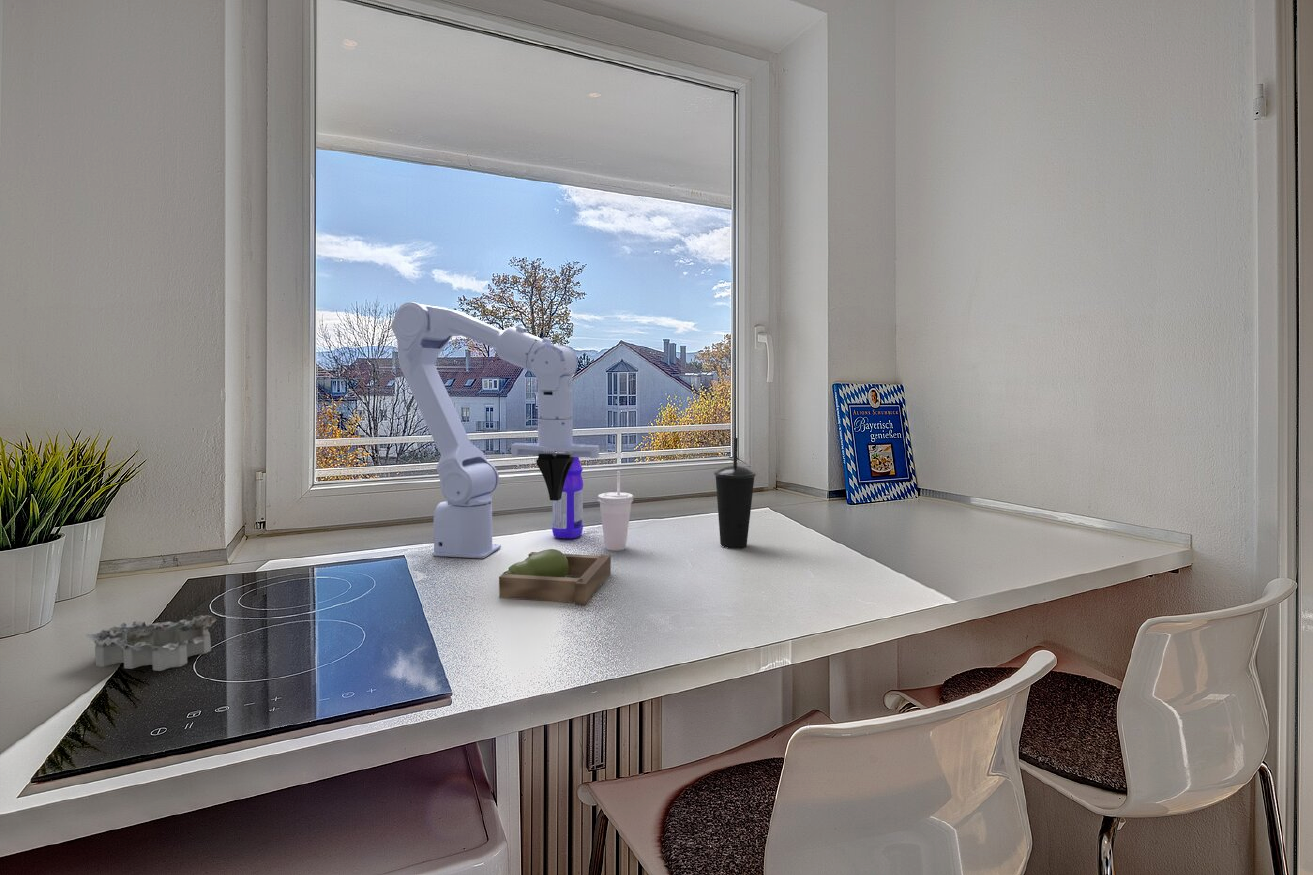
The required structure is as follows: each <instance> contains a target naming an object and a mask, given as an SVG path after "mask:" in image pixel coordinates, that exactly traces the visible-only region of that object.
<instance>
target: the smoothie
mask: <svg viewBox="0 0 1313 875" xmlns="http://www.w3.org/2000/svg"><path fill="white" fill-rule="evenodd" d="M597 497H598V499H597V502H599V507H600V509H599V510H600V517H601V526H602V532H603V541H604V548H605V550H607V551H615V552H616V551H617V552H618V551H624V550H626V548H627V547H626V545H627V541H628V540H627V539H628V531H629V523H630V515H631V511H632V510H631V508H632V503H633V502H634V494H632V493H630V492H629V493H628V492H621V471H620V470H617V472H616V491H614V492H602V493H599V494H598V496H597Z"/></svg>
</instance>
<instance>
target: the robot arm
mask: <svg viewBox="0 0 1313 875" xmlns="http://www.w3.org/2000/svg"><path fill="white" fill-rule="evenodd" d="M390 328H391V330H392V332H393V334H394V336H395V339H396V344H397V346H396V347H397V356H398V358H397V359H398V365H399V368H400V371H401V372H402V375H403V377H404V380H405V381H406V383H407V385H408V387H409V389H410V391H411V395H413V396H412V397H413V398H414V400H415V402H416V405H417V406H418V409H419V411H420V413H421V415H422V419H424V421H425V422H424V423H425V424H426V426H427V428H428V430H429V433H430V435H431V437H432V439H433V442H434V444H435V446H436V447H437V450H438V452H439V454H440V458H439V460H438V462H437V465H436V467H435V468H436V472H437V473H438V474H437V475H438V477H439V488H440V492H441V494H442V496H443V497H444V499H446V500H445V501H441V502H439V503H438V504H437V506H436V508H435V509H434V513H433V514H434V515H433V522H432V523H433V552H431V555H432V556H433V557H434V556H435V557H453V558H467V559H468V558H470V559H471V558H472V559H485V558H486V557H488V556H489V555H491V554H492V553H494V552H496V551H497V550H498V549H500V548H501V547H502V545H501V544H499V543H498V544H497V543H493V493H494V492H495V491H496V490H497V489H498V486H499V484H500V476H499V472H498V469H497V468H496V466H494V465H493V464H492V463H491V462H490V461H489V460H488V459H487V458H486V456H485V453H484V452H483V451H482V450H481V449H479V448H478V447H477V446H475V445H474V444H473V443H472V442H471V440H470V438H469V436H468V434H467V431H466V430H465V427H464V424H463V423H462V421H461V419H460V417H459V414H458V412H457V410H456V407H455V405H454V404H453V401H452V399H451V396H450V394H449V392H448V390H447V388H446V386H445V384H444V382H443V380H442V377H441V375H440V373H439V371H438V369H437V367H436V365H435V363H436V361H437V358H438V357H439V355H440V354H441V353H442V351H443V350H444V348H445V347H446V346H447V345H448V343H450V341H451V340H452V338H453V337H460V336H462V337H464V338H467V339H470V340H472V341H475V342H477V343H479V344H483V345H486V346H488V347H491V348H494V350H495V352H496V355H497V356H498V358H499V359H500V360H502V361H506V362H508V363H509V364H512V365H515V366H517V367H519V368H522V369H524V370H526V371H527V372H528V371H529V372H531V373H533V375H534V377H535V378H536V380H537V442H534V443H533V442H528V443H527V442H525V443H524V442H521V443H520V442H515V443H512V444H511V456H513V457H515V456H516V457H517V456H529V457H530V456H534V457H538V458H537V459H536V461H535V462H536V466H537V467H538V469H539V471H540V473H541V475H542V477H543V480H544V482H545V485H546V488H547V492H548V498H549V501H552V502H553V501H558V500H560V499H561V496H562V490H563V486H564V483H565V479H566V477H567V474H568V472H569V469H570V467H571V465H572V463H573V461H574V458H573V457H579V458H590V459H598V458H599V457H600V445H596V444H595V445H594V444H582V443H574V440H573V437H574V436H573V435H574V433H573V429H574V427H573V424H574V423H573V422H574V420H573V419H574V418H573V417H574V416H573V415H574V414H573V411H574V410H573V408H574V406H573V404H574V403H573V401H574V400H573V399H574V398H573V395H574V394H573V376H574V375H575V374H576V372H577V370H578V367H579V360H578V357H577V355H576V353H575V351H574V350H572V349H571V348H569V347H568V346H567V345H565V344H557V345H556V344H555V345H553V344H552V339H551V338H548V337H546V336H545V337H543V338H541V337H538V336H536V335H533V334H531V333H529V332H527V331H528V328H526V327H524V326H521V325H520V326H519V325H517V326H516V327H514V326H510V327H508V328H505V329H503V330H502V329H499V328H497V327H495V326H493V325H491V324H489V323H486V322H485V321H482V320H480V319H478V318H476V317H474V316H471V315H469V314H467V313H466V312H462V311H460V310H455V309H449V308H447V307H445V306H435V305H434V306H433V305H427V304H421V303H420V304H419V303H418V302H416V301H415V302H413V301H407V302H404V303H403V304H401V305H400V306H399V307H398V309H397V310H396V312H395V315H394V317H393V321H392V323H391V326H390ZM557 452H565V453H557Z"/></svg>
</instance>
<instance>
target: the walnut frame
mask: <svg viewBox="0 0 1313 875" xmlns="http://www.w3.org/2000/svg"><path fill="white" fill-rule="evenodd" d="M537 552H538V551H531V552H530V553H528V555H527V556H528V557H529V556H531V555H533V554H535V553H537ZM563 554H564V555H565V556H566V558H567V560H568V564H569V571H568V574H567V576H574V577H566V578H564V577H548V576H531V575H515V574H503V573H502V574H500V575H499V576H498V598H501V599H512V600H513V599H515V600H529V601H530V600H532V601H544V602H545V601H546V602H557V603H558V602H560V603H573V604H574V605H575V606H576V605H577V606H586V605H588V603H589V602H590V601H591V599H592V598H593V597H594V596H595V594H596V592H597V591H598V590H599V589H600V588H601V586H602V585H603V584H604V583H605V581H606V580H607V579H608V578H609V576H610V575H611V574H612V573H611V571H612V569H611V568H612V562H611V558H612V557H611V556H612V555H611V554H600V555H595V554H594V555H593V554H591V555H590V554H577V553H576V554H575V553H574V554H573V553H563ZM528 557H527V558H528ZM575 576H576V577H575Z"/></svg>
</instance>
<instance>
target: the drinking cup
mask: <svg viewBox="0 0 1313 875" xmlns="http://www.w3.org/2000/svg"><path fill="white" fill-rule="evenodd" d="M738 441H739V440H738V437H733V460H732V461H733V465H727V466H724V467H721V468H719V469H718V470H715V471H714V472H713V475H714V476H715V483H716V484H715V485H716V500H717V513H718V527H719V530H718V531H719V542H720V544H721V545H722V546H724V547H723V548H725V547H728V548H727V549H731V548H740V549H744V547H745V548H746V547H747V544H748V536H749V528H750V520H751V510H752V502H753V501H752V500H753V493H754V485H755V484H754V482H755V477H757V473H756V472H755V471H752V470H751V469H750V468H747V467H745V466H740V465H738V446H739V445H738ZM720 544H719V545H720ZM721 545H720V546H721ZM722 546H721V547H722Z"/></svg>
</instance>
